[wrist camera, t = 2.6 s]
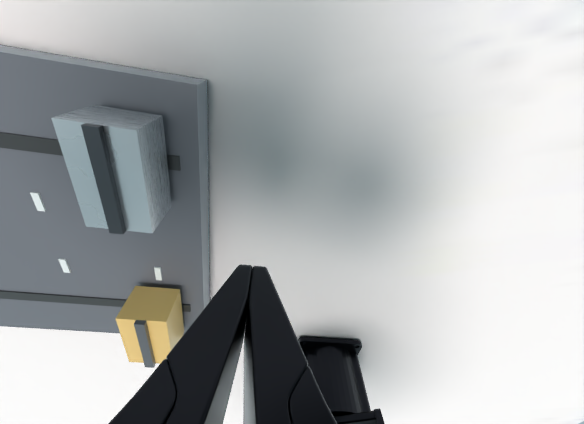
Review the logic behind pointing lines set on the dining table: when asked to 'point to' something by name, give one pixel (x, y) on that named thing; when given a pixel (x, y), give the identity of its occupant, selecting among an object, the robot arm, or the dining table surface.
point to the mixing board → (65, 208)
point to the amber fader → (151, 323)
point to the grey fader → (116, 166)
